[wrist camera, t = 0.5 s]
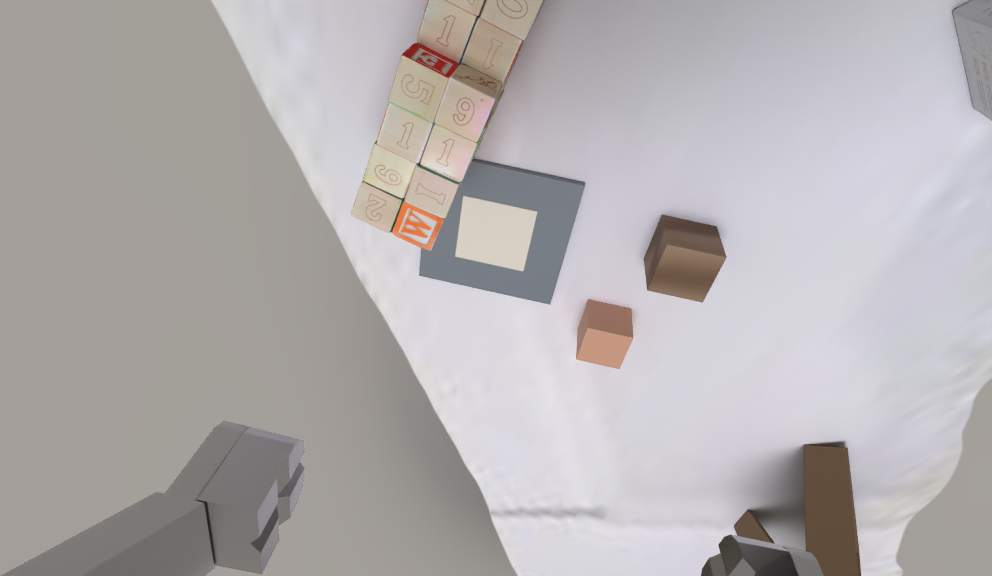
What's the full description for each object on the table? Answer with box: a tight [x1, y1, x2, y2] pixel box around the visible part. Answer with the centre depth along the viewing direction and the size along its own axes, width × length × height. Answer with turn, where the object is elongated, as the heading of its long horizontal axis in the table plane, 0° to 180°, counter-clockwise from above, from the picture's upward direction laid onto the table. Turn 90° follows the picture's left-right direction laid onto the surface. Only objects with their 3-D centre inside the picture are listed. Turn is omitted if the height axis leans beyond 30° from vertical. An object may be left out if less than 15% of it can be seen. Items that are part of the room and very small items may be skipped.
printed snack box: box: [351, 0, 544, 251], centre depth 37 cm, size 21×6×12 cm, turn 156°
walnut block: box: [644, 215, 726, 302], centre depth 48 cm, size 5×5×5 cm
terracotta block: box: [576, 300, 633, 369], centre depth 55 cm, size 4×4×4 cm
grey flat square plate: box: [419, 159, 585, 304], centre depth 52 cm, size 14×14×1 cm
